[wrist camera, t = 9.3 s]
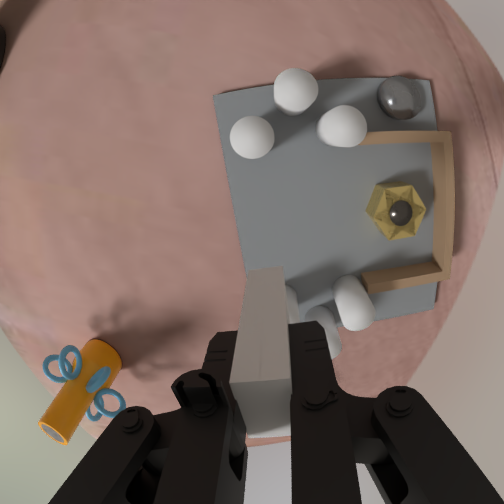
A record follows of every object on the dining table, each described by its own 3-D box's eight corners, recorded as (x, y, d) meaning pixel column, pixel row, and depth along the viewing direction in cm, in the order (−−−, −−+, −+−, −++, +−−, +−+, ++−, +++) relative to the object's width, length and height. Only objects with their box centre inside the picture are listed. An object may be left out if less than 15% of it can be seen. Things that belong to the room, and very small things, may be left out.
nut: (362, 186, 24) (370, 191, 22) (413, 179, 23) (425, 183, 21) (367, 234, 25) (375, 243, 23) (416, 226, 25) (427, 234, 22)
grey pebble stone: (372, 77, 20) (377, 74, 19) (411, 79, 20) (417, 77, 19) (380, 120, 22) (384, 119, 21) (418, 120, 21) (424, 120, 20)
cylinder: (148, 391, 37) (111, 474, 23) (91, 380, 38) (48, 448, 24) (123, 322, 32) (60, 410, 18) (62, 315, 33) (-2, 383, 19)
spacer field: (214, 96, 23) (198, 84, 17) (425, 81, 20) (456, 71, 15) (258, 332, 31) (255, 368, 26) (430, 305, 28) (452, 334, 23)
